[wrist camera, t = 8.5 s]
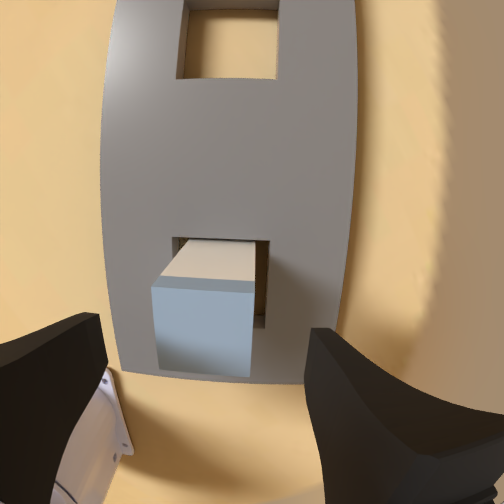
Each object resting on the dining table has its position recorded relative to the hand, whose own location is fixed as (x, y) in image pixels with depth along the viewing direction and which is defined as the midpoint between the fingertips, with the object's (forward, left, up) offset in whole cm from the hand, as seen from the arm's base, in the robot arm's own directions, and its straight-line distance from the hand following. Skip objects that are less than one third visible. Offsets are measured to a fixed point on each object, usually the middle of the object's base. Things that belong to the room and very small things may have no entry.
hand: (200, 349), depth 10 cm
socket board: (+6, 0, -7) cm, 9 cm away
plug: (+1, 0, -7) cm, 7 cm away
